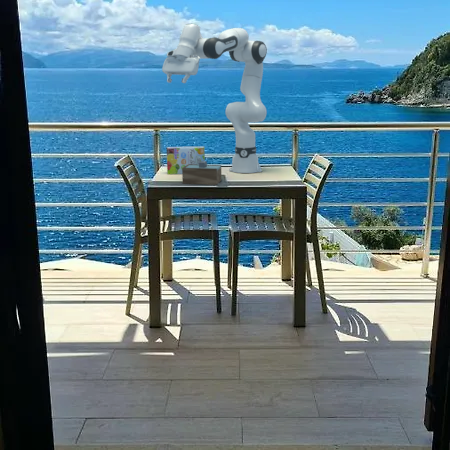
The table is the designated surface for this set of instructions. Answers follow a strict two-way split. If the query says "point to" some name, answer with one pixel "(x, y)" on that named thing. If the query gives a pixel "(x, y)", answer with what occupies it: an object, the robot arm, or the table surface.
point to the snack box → (183, 158)
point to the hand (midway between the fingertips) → (176, 82)
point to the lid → (203, 165)
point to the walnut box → (201, 175)
